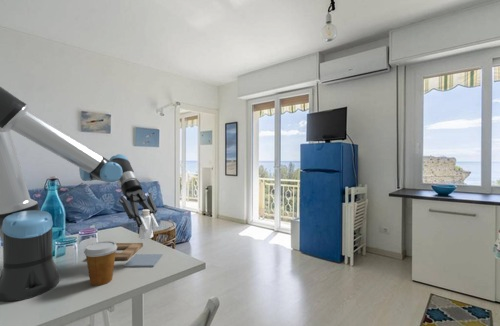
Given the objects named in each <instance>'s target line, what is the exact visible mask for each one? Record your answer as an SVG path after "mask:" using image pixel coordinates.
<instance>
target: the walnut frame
mask: <svg viewBox="0 0 500 326" xmlns="http://www.w3.org/2000/svg"><path fill="white" fill-rule="evenodd" d="M115 243H116V245H117V249H116V251H118V250H119V251H120V250H122V251H121V252H116V253H115V261H129V260H130V259H131V258H132V257H134V256H135V255H136V254H137V252H138V251H140V249H141V248H143V246H144V243H143V242H115Z"/></svg>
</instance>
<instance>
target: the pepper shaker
mask: <svg viewBox="0 0 500 326" xmlns="http://www.w3.org/2000/svg"><path fill="white" fill-rule="evenodd" d="M149 211H150V210H148V209H142V210H141V214H142V217H143V219H144V221H145V224H146V226H147V228H148V230H147V231H146V233H143V231H142V229H141V227H140V226H139V233H138V238H139V239H140V240H148V239H152V238H153V237H154V229H153V227H152V221H151V216H150V215H149Z"/></svg>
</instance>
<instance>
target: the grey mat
mask: <svg viewBox="0 0 500 326" xmlns="http://www.w3.org/2000/svg"><path fill="white" fill-rule="evenodd" d="M161 256H162V257H163V254H162V253H151V254H150V253H141V254H140V253H139V254H137V253H135V254H134V255H133V256H131V257H130V258H129V259H128V260H127V262H126V263H125V264H124V265H123V268H154V267H155V266H156V264H157V263H158V262H159V260H160V259H162V257H161Z"/></svg>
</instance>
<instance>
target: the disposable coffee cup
mask: <svg viewBox="0 0 500 326" xmlns="http://www.w3.org/2000/svg"><path fill="white" fill-rule="evenodd" d="M116 243H117V242H116V241H112V240H105V241H97V242H94V243H93V242H92V243H90V244H88V245H87V246H86V247H85V249H84V251H83V253H84V254H85V257H86V258H85V259H86V265H87V270H88V277H89V283H90V285H91V286H96V287H97V286H102V285H105V284H108V283H110V282H111V281H113V275H114V268H115V261H116V260H115V253H117V252H116V251H117V250H116V249H117V245H116Z"/></svg>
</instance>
